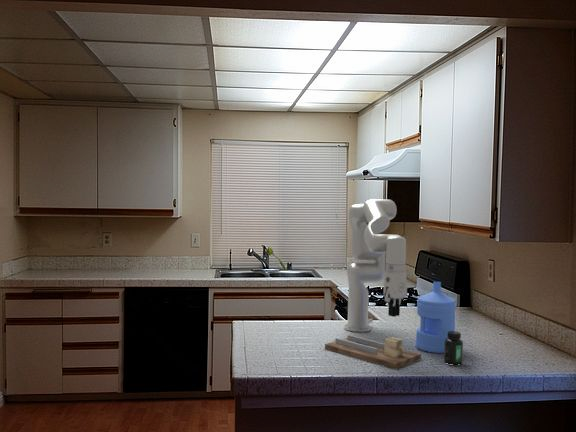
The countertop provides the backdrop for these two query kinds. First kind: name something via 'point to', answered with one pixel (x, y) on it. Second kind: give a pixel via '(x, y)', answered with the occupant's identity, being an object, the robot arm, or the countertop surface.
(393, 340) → the block
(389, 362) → the deck
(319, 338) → the countertop surface
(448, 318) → the water jug
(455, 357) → the supplement bottle
